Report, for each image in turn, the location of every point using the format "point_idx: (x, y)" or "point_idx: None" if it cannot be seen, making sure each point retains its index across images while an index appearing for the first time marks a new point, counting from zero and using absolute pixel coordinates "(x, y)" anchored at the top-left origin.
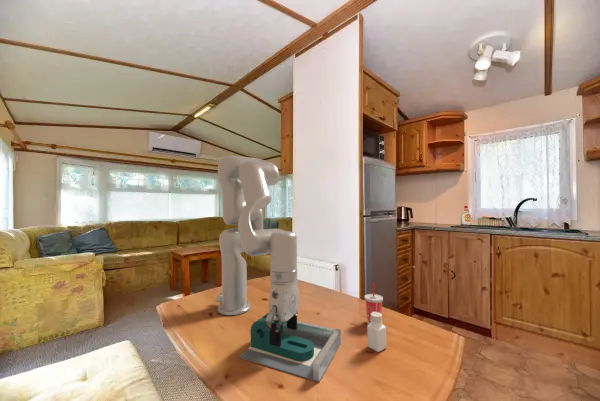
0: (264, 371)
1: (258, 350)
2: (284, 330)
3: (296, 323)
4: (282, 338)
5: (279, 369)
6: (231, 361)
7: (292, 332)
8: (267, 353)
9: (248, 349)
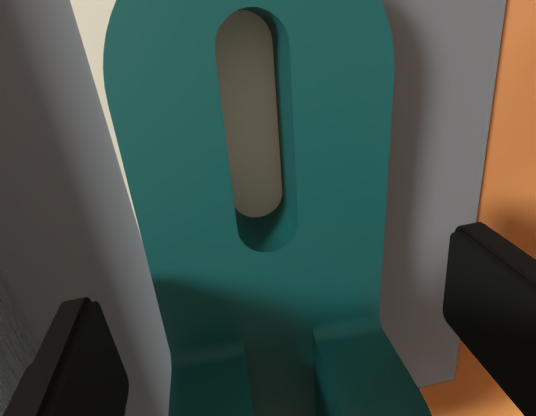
0: (517, 191)
1: None
2: None
3: (56, 351)
4: (250, 311)
5: (490, 115)
6: (487, 376)
7: (22, 333)
8: None
9: None
